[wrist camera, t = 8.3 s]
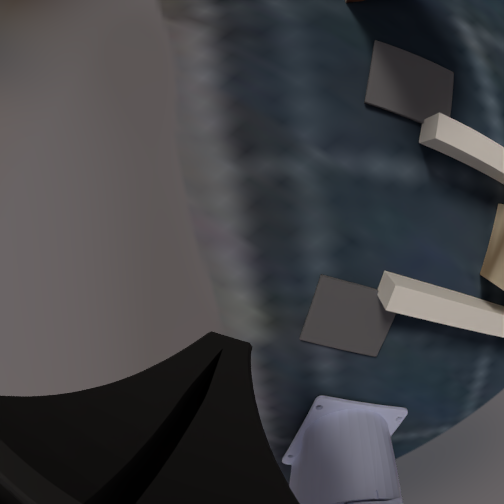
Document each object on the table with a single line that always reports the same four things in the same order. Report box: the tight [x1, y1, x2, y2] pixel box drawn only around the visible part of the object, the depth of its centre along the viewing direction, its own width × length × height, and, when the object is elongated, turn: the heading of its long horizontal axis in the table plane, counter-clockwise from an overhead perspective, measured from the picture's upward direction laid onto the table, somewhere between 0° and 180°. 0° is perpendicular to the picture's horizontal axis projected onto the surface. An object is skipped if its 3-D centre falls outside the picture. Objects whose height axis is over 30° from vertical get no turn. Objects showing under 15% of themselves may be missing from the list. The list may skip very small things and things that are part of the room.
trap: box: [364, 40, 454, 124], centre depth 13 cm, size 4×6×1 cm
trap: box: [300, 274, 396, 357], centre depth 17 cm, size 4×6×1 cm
